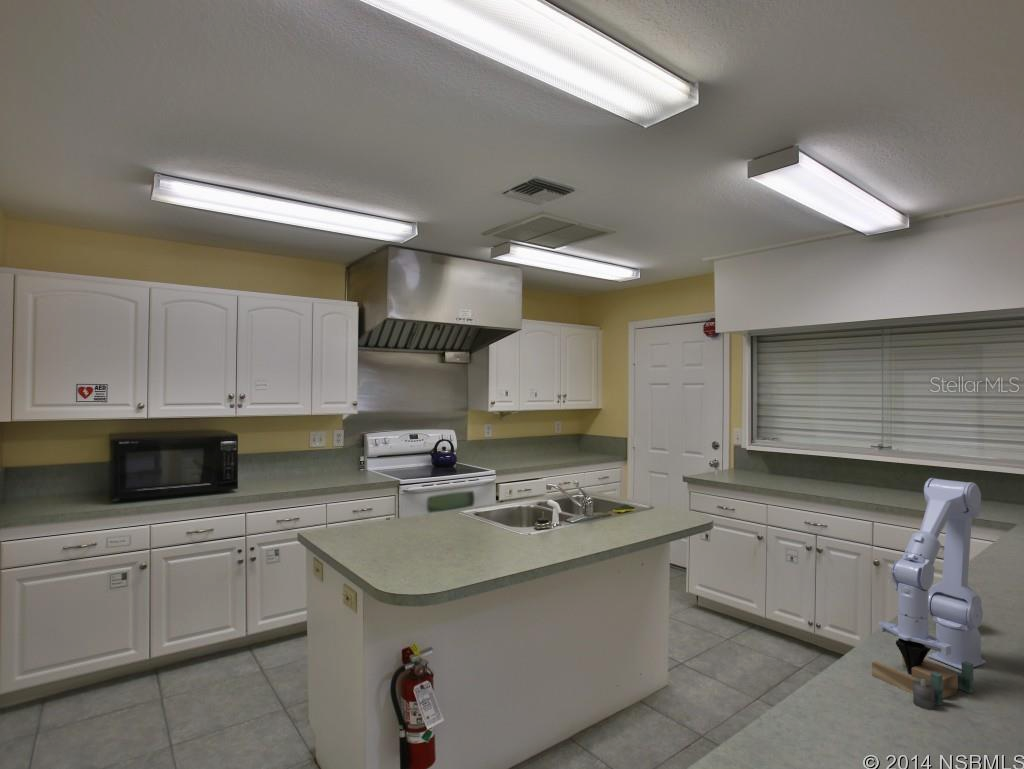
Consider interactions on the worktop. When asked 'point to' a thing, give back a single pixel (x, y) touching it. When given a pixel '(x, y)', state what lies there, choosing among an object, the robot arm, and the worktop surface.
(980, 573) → the worktop surface
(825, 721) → the worktop surface
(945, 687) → the brown wooden block
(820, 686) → the worktop surface
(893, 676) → the bay
